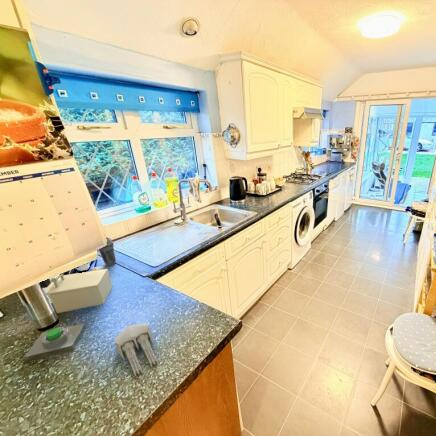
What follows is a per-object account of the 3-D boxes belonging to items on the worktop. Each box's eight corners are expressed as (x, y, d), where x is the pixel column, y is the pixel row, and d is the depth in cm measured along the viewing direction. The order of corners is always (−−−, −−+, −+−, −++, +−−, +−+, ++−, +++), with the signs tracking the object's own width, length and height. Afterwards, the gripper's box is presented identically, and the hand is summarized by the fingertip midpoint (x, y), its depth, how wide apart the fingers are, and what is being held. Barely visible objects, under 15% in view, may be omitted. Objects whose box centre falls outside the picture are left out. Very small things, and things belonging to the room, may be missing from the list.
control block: (26, 362, 74) (21, 352, 73) (44, 337, 83) (40, 328, 81) (73, 350, 78) (70, 341, 77) (86, 328, 87) (82, 319, 85)
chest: (56, 313, 93) (48, 295, 90) (71, 293, 104) (64, 277, 101) (103, 303, 99) (98, 286, 96) (113, 286, 110) (107, 270, 106)
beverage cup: (99, 266, 125) (87, 232, 118) (111, 259, 132) (101, 226, 124) (109, 268, 123) (99, 233, 116) (122, 261, 130) (112, 228, 123)
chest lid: (46, 295, 90) (41, 284, 88) (62, 277, 101) (58, 267, 99) (97, 286, 95) (94, 276, 94) (107, 270, 106) (105, 260, 105)
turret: (130, 386, 70) (126, 377, 67) (113, 339, 81) (109, 330, 79) (165, 364, 76) (163, 355, 74) (145, 323, 88) (143, 314, 86)
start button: (45, 341, 77) (43, 337, 76) (51, 333, 80) (49, 329, 79) (59, 338, 78) (57, 334, 78) (64, 330, 81) (62, 326, 81)
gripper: (-24, 228, 65) (13, 297, 73) (38, 221, 69) (65, 287, 78) (-4, 219, 71) (27, 283, 80) (51, 213, 76) (75, 275, 84)
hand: (46, 285), depth 79 cm, fingers closed
